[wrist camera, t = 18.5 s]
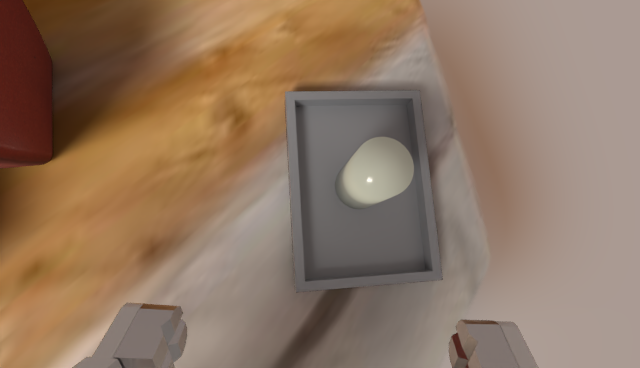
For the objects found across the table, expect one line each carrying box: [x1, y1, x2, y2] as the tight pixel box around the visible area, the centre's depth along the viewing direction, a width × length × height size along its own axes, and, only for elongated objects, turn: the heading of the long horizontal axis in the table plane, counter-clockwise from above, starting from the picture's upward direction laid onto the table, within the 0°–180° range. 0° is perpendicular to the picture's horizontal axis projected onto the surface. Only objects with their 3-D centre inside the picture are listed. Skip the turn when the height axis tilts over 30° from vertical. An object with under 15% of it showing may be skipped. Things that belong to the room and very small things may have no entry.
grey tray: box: [285, 90, 443, 292], centre depth 40 cm, size 22×16×2 cm
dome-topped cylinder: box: [335, 137, 414, 209], centre depth 36 cm, size 6×6×10 cm
